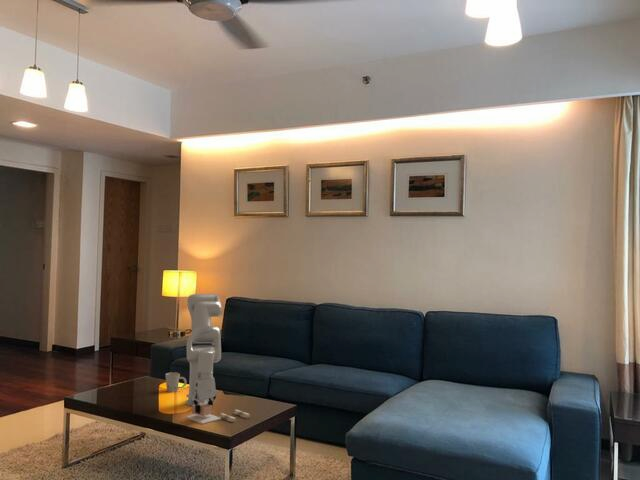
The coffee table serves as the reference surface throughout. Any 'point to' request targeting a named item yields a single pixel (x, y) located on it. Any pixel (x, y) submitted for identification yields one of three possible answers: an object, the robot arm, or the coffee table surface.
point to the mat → (203, 418)
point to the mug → (173, 381)
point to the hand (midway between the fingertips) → (203, 411)
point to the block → (203, 409)
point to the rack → (233, 419)
